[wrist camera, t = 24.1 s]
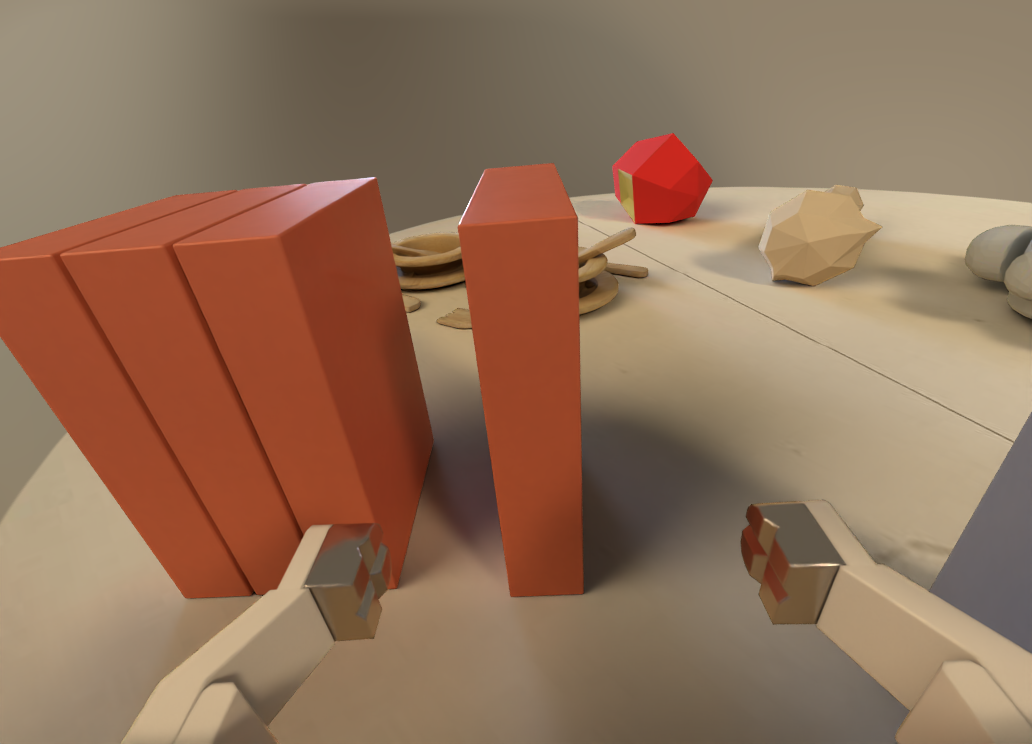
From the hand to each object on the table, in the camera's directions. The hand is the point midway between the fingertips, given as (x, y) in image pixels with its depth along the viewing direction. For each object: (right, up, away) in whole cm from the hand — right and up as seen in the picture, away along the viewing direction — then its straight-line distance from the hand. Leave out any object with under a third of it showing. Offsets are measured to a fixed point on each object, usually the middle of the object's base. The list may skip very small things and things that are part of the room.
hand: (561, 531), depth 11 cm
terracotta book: (0, -3, +13) cm, 13 cm away
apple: (+20, +26, +59) cm, 67 cm away
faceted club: (+32, +16, +40) cm, 53 cm away
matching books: (-11, -3, +14) cm, 18 cm away
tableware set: (-4, +13, +41) cm, 43 cm away
